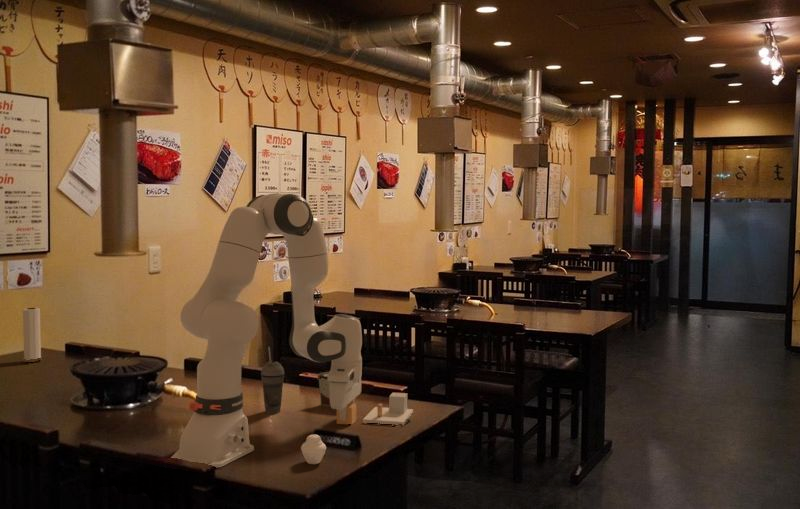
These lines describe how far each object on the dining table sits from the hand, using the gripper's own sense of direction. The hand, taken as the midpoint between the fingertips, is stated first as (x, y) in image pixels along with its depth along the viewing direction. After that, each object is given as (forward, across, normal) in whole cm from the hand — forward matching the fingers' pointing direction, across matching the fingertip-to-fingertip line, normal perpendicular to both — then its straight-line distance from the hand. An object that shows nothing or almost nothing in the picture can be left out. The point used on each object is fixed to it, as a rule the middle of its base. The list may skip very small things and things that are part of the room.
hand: (346, 416), depth 221 cm
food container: (+2, -18, -8) cm, 20 cm away
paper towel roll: (+2, -49, -145) cm, 153 cm away
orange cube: (+2, 0, 0) cm, 2 cm away
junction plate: (+2, -7, +11) cm, 13 cm away
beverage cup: (+2, -5, -25) cm, 26 cm away
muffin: (+2, +35, +2) cm, 35 cm away
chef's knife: (+2, +3, +15) cm, 15 cm away
